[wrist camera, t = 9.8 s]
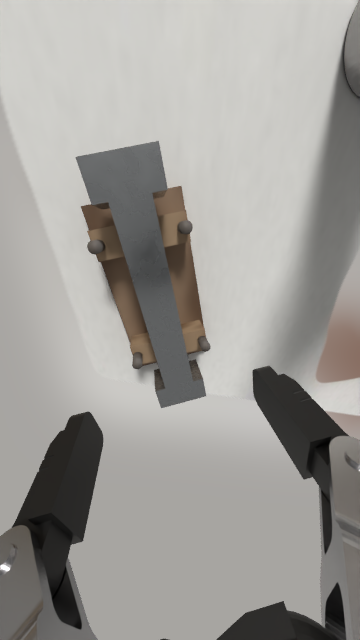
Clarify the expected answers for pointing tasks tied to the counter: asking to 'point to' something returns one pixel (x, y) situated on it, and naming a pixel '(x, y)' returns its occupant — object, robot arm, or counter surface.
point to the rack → (180, 269)
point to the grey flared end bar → (145, 256)
